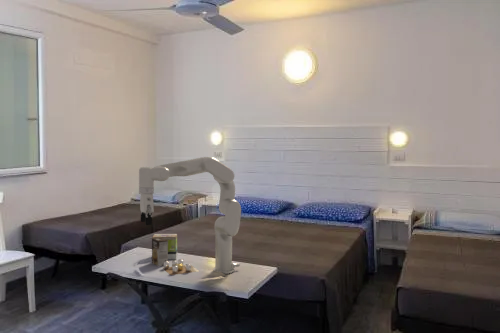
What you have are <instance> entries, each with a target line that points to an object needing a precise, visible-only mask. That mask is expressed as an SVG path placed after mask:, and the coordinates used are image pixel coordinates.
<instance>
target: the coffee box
mask: <svg viewBox="0 0 500 333" xmlns="http://www.w3.org/2000/svg"><path fill="white" fill-rule="evenodd" d="M168 260H169V259H168V240H166V239H164V238H152V237H151V263H152V264H153V265H154V266H157V267H164V261H168Z"/></svg>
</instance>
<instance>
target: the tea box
mask: <svg viewBox="0 0 500 333" xmlns="http://www.w3.org/2000/svg"><path fill="white" fill-rule="evenodd" d="M152 238H164V239H166V240H168V260H177V256H178V233H154V234H153V236H152V237H151V239H152Z"/></svg>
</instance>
